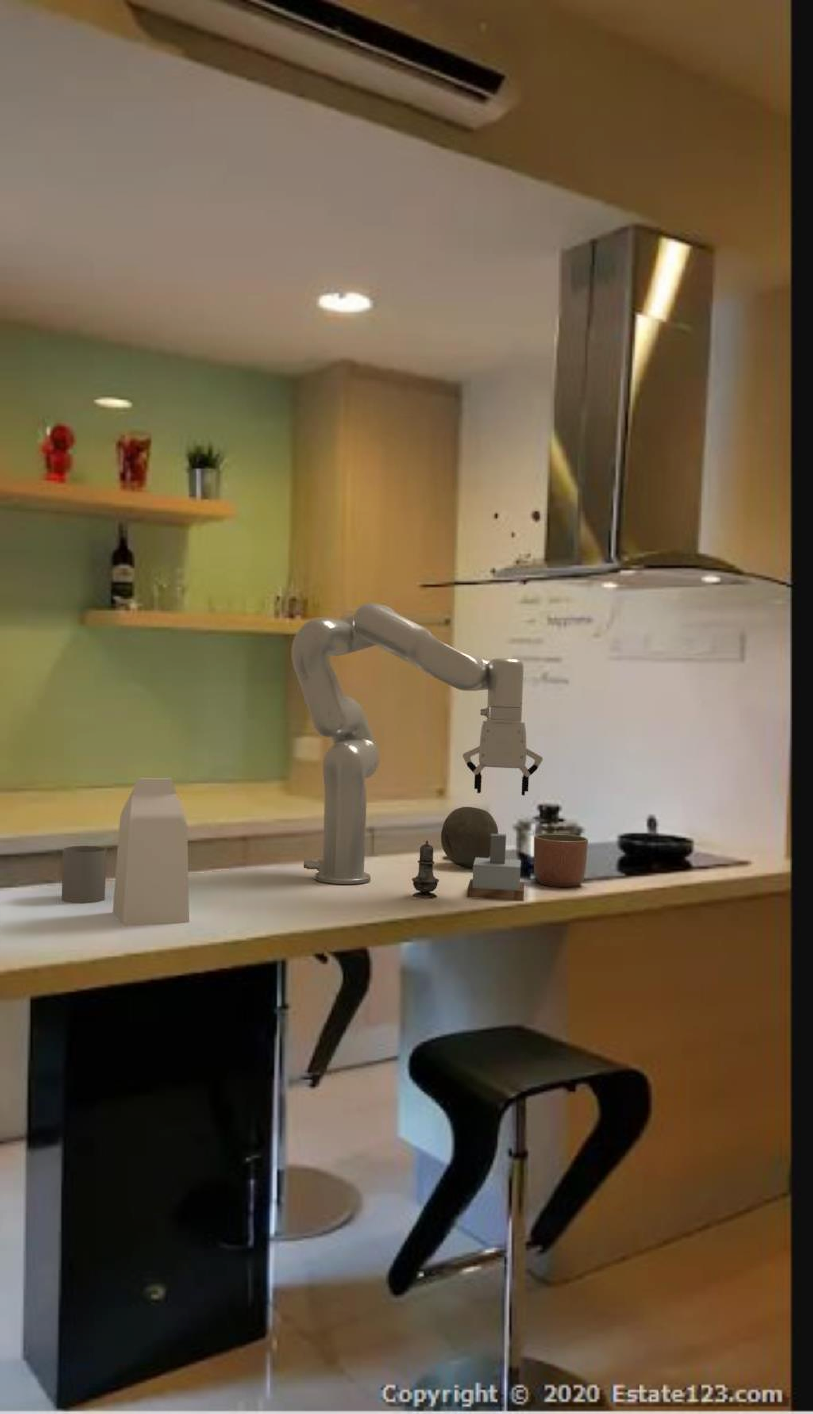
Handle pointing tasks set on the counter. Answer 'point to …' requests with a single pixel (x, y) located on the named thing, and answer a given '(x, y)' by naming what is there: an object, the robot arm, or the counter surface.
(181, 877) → the milk
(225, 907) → the counter surface
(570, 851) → the planter
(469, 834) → the dark brown ball
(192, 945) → the counter surface
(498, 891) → the socket board
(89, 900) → the cup
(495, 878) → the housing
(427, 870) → the salt shaker
